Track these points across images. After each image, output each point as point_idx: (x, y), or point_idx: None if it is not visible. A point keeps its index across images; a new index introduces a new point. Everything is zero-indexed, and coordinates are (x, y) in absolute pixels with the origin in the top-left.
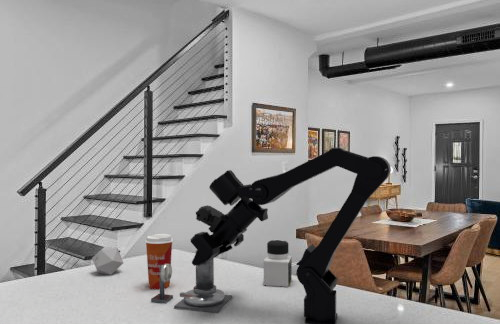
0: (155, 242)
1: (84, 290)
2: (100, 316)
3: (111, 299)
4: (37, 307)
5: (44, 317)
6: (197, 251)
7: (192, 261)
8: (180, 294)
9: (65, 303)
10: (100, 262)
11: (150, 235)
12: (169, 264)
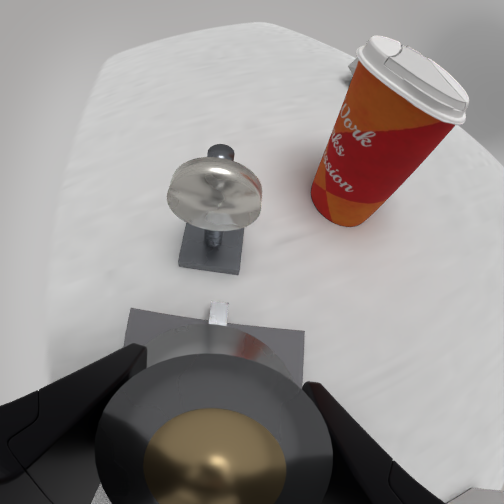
0: (368, 61)
1: (256, 77)
2: (87, 146)
3: (203, 124)
4: (154, 59)
5: (103, 82)
6: (14, 405)
7: (123, 349)
8: (211, 305)
9: (174, 76)
10: (356, 62)
11: (411, 49)
12: (234, 181)
